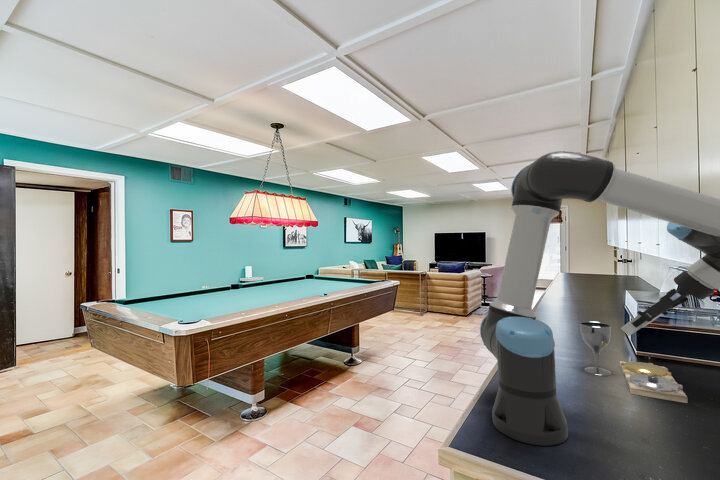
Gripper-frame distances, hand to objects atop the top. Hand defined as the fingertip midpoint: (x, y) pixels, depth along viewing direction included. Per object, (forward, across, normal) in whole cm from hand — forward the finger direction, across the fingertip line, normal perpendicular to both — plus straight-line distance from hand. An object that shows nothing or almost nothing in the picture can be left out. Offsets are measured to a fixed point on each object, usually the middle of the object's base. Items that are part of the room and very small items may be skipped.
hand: (632, 327), depth 96 cm
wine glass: (+18, 0, -4) cm, 18 cm away
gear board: (+9, +1, -13) cm, 16 cm away
